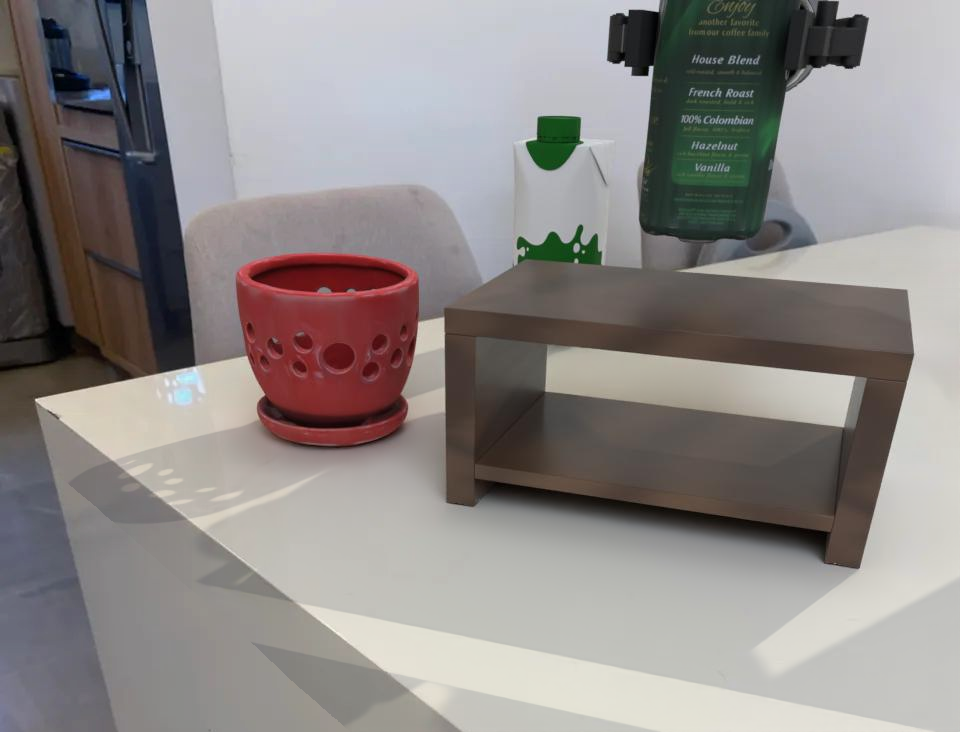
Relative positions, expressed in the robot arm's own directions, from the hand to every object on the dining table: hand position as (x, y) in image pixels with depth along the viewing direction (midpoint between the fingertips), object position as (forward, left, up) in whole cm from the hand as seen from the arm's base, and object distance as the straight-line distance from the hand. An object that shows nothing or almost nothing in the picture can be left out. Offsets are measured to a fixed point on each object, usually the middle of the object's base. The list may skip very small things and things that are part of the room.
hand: (712, 39), depth 51 cm
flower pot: (+26, -2, -26) cm, 37 cm away
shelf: (0, 0, -26) cm, 26 cm away
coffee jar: (0, -5, -11) cm, 12 cm away
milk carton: (+18, -36, -26) cm, 48 cm away
